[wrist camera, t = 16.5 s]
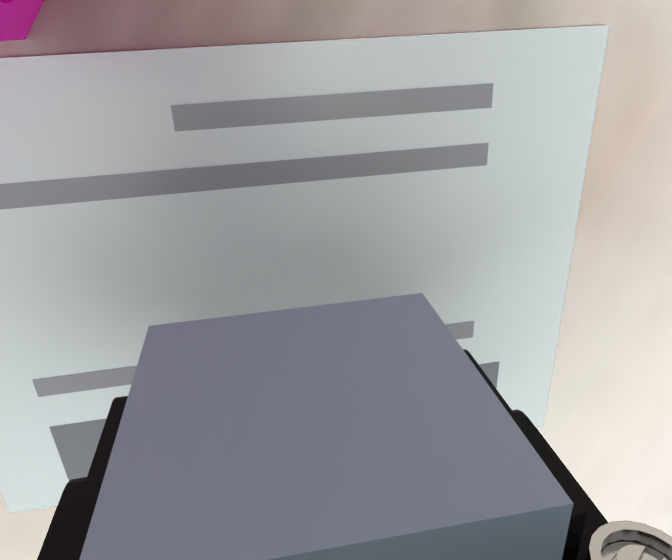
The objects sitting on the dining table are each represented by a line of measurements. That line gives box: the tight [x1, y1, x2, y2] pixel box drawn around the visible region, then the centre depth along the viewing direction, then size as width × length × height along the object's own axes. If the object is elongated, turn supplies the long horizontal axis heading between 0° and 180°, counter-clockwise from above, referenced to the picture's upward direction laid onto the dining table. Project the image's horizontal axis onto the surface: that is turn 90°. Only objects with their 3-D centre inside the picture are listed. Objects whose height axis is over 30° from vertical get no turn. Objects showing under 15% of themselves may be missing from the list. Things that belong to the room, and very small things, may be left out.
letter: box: [0, 25, 609, 513], centre depth 15 cm, size 13×18×1 cm
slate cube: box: [79, 293, 573, 560], centre depth 8 cm, size 5×5×5 cm
